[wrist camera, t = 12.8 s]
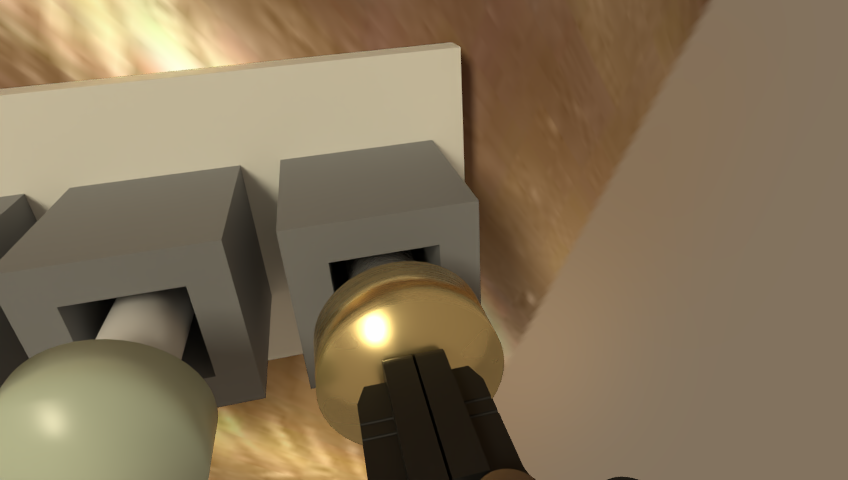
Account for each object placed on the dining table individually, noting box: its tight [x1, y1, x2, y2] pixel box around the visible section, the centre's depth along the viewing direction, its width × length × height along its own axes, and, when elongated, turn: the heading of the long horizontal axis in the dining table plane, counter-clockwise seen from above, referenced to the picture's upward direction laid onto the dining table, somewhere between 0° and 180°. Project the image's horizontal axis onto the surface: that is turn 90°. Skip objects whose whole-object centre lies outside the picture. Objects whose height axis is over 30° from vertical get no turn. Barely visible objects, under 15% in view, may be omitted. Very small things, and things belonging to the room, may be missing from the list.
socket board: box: [0, 42, 481, 407], centre depth 18 cm, size 12×22×7 cm, turn 94°
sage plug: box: [0, 286, 218, 480], centre depth 14 cm, size 5×5×8 cm
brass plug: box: [313, 250, 504, 445], centre depth 17 cm, size 5×5×8 cm
